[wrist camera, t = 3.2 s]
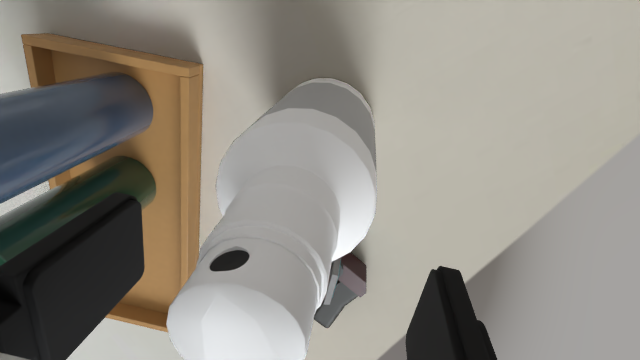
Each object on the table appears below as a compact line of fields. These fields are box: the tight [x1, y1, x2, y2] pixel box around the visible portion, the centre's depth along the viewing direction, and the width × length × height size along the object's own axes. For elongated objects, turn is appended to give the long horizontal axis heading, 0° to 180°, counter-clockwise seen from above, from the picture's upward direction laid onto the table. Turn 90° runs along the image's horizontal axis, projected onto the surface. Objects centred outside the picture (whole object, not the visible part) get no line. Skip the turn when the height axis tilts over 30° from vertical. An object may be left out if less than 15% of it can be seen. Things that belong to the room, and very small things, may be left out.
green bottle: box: [0, 156, 156, 266], centre depth 20 cm, size 5×5×18 cm
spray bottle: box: [166, 78, 377, 360], centre depth 16 cm, size 7×7×18 cm
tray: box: [21, 33, 203, 332], centre depth 28 cm, size 24×11×2 cm, turn 170°
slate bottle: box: [0, 72, 153, 204], centre depth 17 cm, size 5×5×18 cm
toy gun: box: [314, 253, 366, 328], centre depth 27 cm, size 10×12×5 cm
